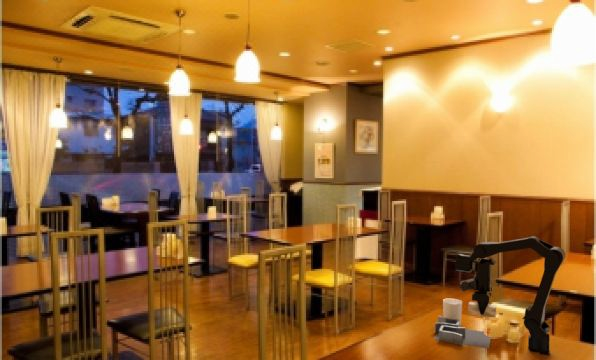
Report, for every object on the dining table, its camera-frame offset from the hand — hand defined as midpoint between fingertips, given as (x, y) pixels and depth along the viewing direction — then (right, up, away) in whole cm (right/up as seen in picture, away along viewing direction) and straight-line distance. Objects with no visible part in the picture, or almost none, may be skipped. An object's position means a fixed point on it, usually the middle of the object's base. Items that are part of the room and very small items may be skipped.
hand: (482, 313), depth 182 cm
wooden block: (0, -1, 0) cm, 1 cm away
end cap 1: (-11, -9, +7) cm, 16 cm away
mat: (-7, -10, +1) cm, 12 cm away
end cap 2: (-13, -10, -2) cm, 16 cm away
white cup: (-7, -10, +16) cm, 20 cm away
